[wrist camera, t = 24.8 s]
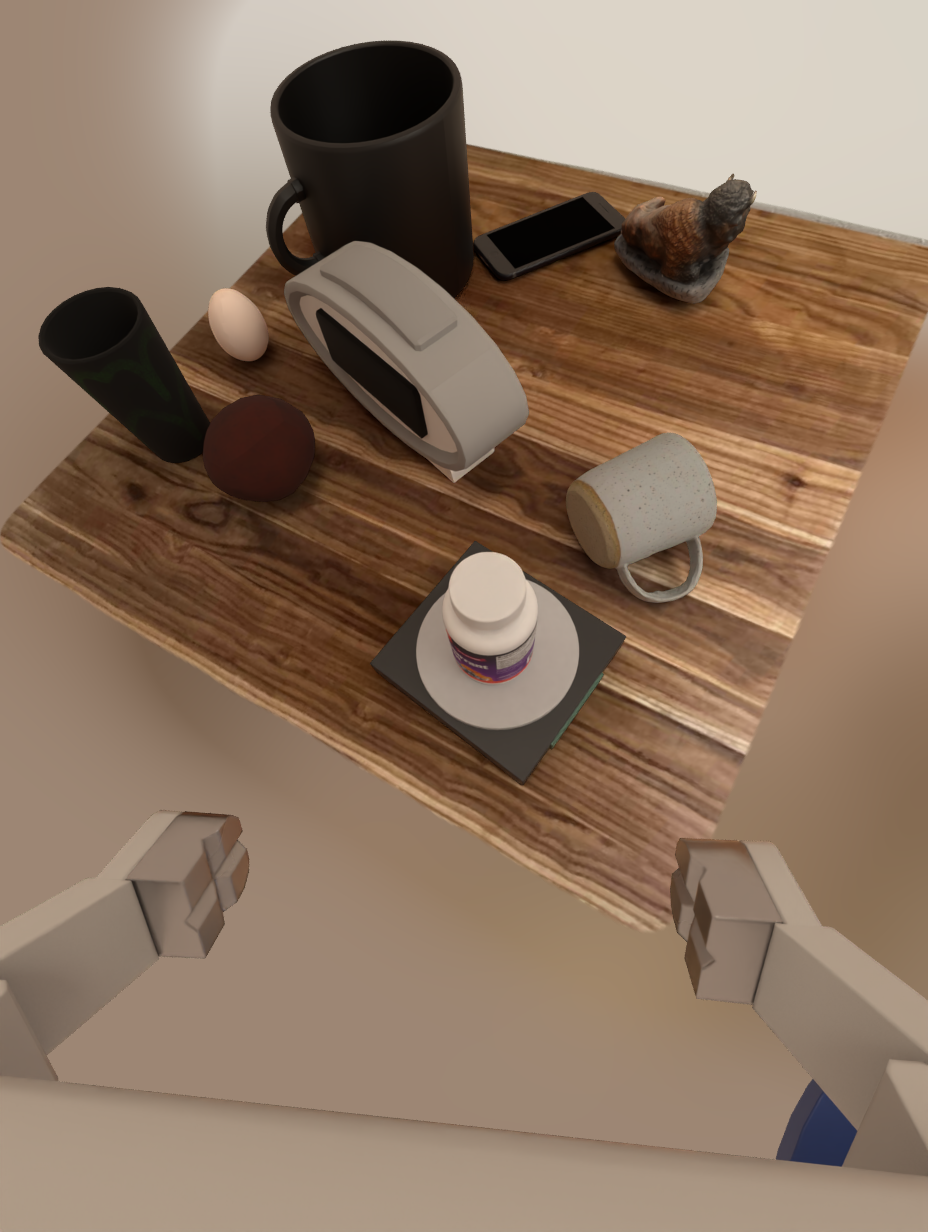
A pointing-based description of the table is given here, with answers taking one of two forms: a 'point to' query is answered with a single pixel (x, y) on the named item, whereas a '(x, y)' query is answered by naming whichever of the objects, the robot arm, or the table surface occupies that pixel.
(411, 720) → the table surface
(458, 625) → the pill bottle
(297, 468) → the dark reddish-brown round ball
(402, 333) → the alarm clock
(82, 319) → the cup
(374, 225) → the mug
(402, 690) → the kitchen scale
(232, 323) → the egg
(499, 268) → the smartphone
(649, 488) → the ceramic mug
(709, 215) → the bison figurine
